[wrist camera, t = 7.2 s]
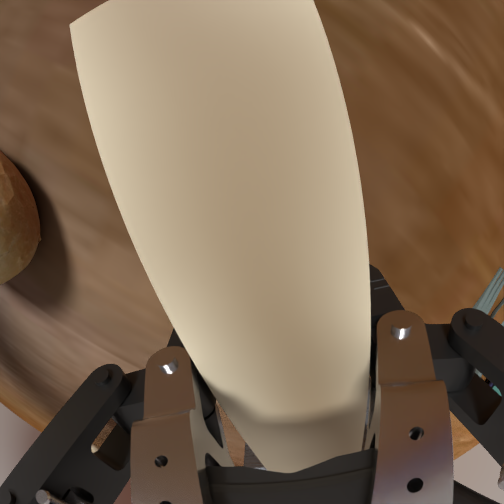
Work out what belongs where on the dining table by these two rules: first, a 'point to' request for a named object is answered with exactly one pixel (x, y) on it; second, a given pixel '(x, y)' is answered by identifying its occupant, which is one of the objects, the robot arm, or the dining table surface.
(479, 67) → the dining table surface
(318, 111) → the birch bar
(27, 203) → the bread roll
